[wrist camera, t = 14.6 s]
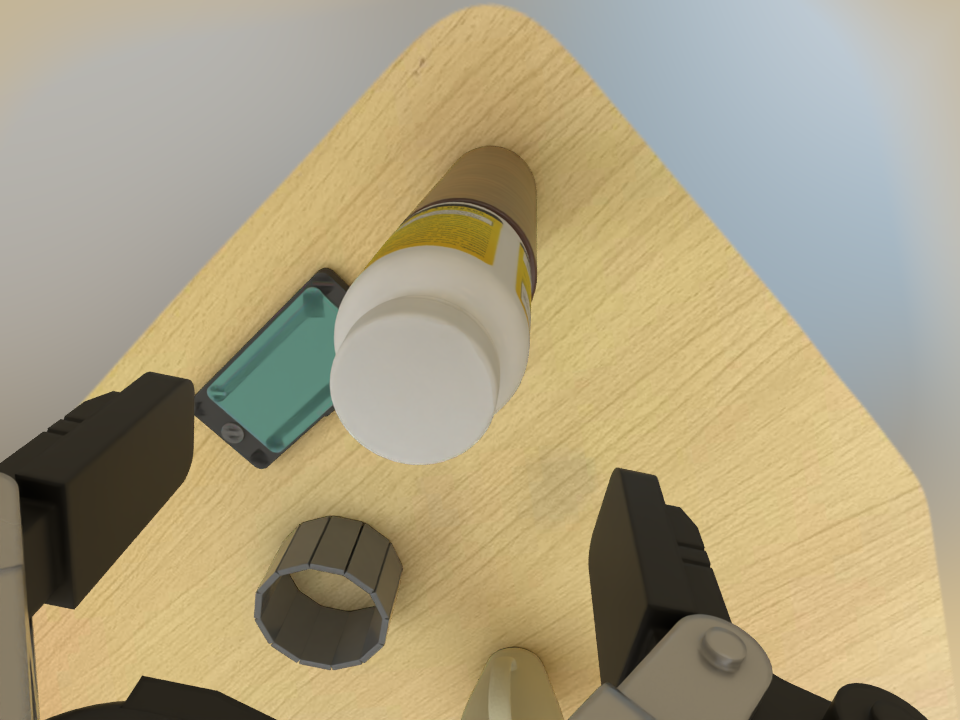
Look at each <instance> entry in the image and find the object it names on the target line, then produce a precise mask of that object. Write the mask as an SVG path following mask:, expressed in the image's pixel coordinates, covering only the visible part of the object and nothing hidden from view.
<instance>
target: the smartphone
mask: <svg viewBox="0 0 960 720" xmlns="http://www.w3.org/2000/svg"><path fill="white" fill-rule="evenodd" d="M348 289H349V286H348V285H347V284H346V283H345V282H344V281H343V280H342V279H341V278H340V277H339V276H338V275H337V274H336V273H335V272H334V271H333V270H330V269H328V268H323V269H321V270H319V271H318V272H317V273H316V274H315V275H314V276H313V277H312V278H311V279H310V280H309V281H308V282H307V283H306V284H305V285H304V286H303V287H302V288H301V289H300V290H299V291H298V292H297V293H296V294H295V295H294V296H293V297H292V298H291V299H290V300H289V301H288V302H287V303H286V304H285V305H284V306H283V307H282V308H281V309H280V310H279V311H278V312H277V313H276V314H275V315H274V316H273V317H272V318H271V319H270V320H269V321H268V322H267V323H266V324H265V325H264V326H263V327H262V328H261V329H260V330H259V331H258V332H257V333H256V334H255V335H254V336H253V337H252V338H251V339H250V340H249V341H248V342H247V343H246V344H245V345H244V346H243V347H242V348H241V350H240V351H239V352H238V353H237V354H236V355H235V356H234V357H233V358H232V359H231V360H230V361H229V362H228V363H227V364H226V365H225V366H224V367H223V368H222V369H221V370H220V371H219V372H218V373H217V374H216V375H215V376H214V377H213V378H212V379H211V380H210V381H209V382H208V383H207V384H206V385H205V386H204V387H203V388H202V389H201V390H200V391H199V392H198V393H197V394H196V395H195V399H194V415H195V416H196V417H197V418H198V419H200V420H201V421H202V422H203V423H204V424H205V425H207V426H208V427H209V428H210V429H211V430H212V431H214V432H215V433H216V434H217V435H218V436H220V437H221V438H222V439H223V440H224V441H225V442H227V443H228V444H229V445H230V446H231V447H232V448H234V449H235V450H236V451H237V452H238V453H240V454H241V455H242V456H243V457H244V458H245V459H247V460H248V461H249V462H250V463H251V464H252V465H254V466H255V467H257V468H259V469H264V468H267V467H268V466H269V465H270V464H271V463H272V462H273V461H275V460H276V459H277V458H278V457H279V456H280V455H281V454H282V453H284V452H285V451H286V450H287V449H288V448H289V447H290V446H291V445H292V444H294V443H295V442H296V441H297V440H298V439H299V438H300V437H301V436H303V435H304V434H305V433H306V432H307V431H308V430H309V429H310V428H311V427H313V426H314V425H315V424H316V423H317V422H318V421H319V420H320V419H322V418H323V417H324V416H328V415H329V414H330V413H332V412H333V411H334V410H335V408H334V405H333V402H332V398H331V392H330V373H331V368H332V364H333V360H334V358H335V355H336V353H335V347H334V329H335V321H336V317H337V313H338V310H339V307H340V304H341V302H342V300H343V298H344V296H345V294H346V293H347V291H348Z"/></svg>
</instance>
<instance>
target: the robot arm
mask: <svg viewBox="0 0 960 720" xmlns="http://www.w3.org/2000/svg"><path fill="white" fill-rule="evenodd" d="M194 399H195V392H194V385H193V383H192V381H191V380H189V379H184V378H179V377H174V376H169V375H164V374H159V373H154V372H147V373H145V374H143V375H142V376H141V377H140V378H138V379H137V380H136V381H134V382H133V383H132V384H131V385H129V386H128V387H127V388H125V389H124V390H123V391H121V392H115V391H112V392H109V393H107V394H104V395H101V396H99V397H96V398H93V399H90V400H88V401H85V402H83V403H82V404H81V405H79V406H78V407H77V408H75V409H74V410H72V411H71V412H70V413H69V414H67V415H66V416H65V417H64V420H62V419H60V420H59V421H58V422H56V423H55V424H53V425H52V426H51V427H49V428H48V431H47V432H42V433H41V434H40V435H38V436H37V437H35V438H34V439H33V440H31V441H30V442H29V443H27V444H26V445H25V446H23V447H22V448H20V449H19V450H18V451H16V452H15V453H14V454H12V455H11V456H9V457H8V458H7V459H5V460H4V461H3V462H1V463H0V720H40V712H39V699H38V685H37V671H36V657H35V643H34V629H33V620H32V616H33V615H34V614H35V613H36V612H37V611H38V610H39V609H40V607H41V606H42V605H43V604H49V605H54V606H59V607H64V608H69V609H75V608H76V607H77V606H78V605H79V603H80V602H81V601H82V600H83V599H84V598H85V596H86V595H87V594H88V593H89V592H90V591H91V589H92V588H93V587H94V586H95V585H96V584H97V582H98V581H99V580H100V579H101V578H102V577H103V576H104V574H105V573H106V572H107V571H108V570H109V569H110V567H111V566H112V565H113V564H114V563H115V562H116V560H117V559H118V558H119V557H120V556H121V555H122V553H123V552H124V551H125V550H126V549H127V548H128V546H129V545H130V544H131V543H132V542H133V541H134V539H135V538H136V537H137V536H138V535H139V534H140V532H141V531H142V530H143V529H144V528H145V527H146V525H147V524H148V523H149V522H150V521H151V520H152V518H153V517H154V516H155V515H156V514H157V513H158V511H159V510H160V509H161V508H162V507H163V506H164V504H165V503H166V502H167V501H168V500H169V499H170V497H171V496H172V495H173V494H174V493H175V492H176V490H177V489H178V488H179V487H180V486H181V484H182V483H183V482H184V480H185V478H186V476H187V474H188V472H189V469H190V466H191V463H192V458H193V450H194ZM704 548H705V547H704V544H703V541H702V539H701V536H700V533H699V530H698V527H697V526H696V525H695V524H694V523H693V522H692V520H691V519H690V518H689V517H688V516H687V515H686V514H685V512H684V511H683V510H682V509H681V508H680V507H676V506H671V505H666V504H665V501H664V498H663V495H662V492H661V488H660V485H659V482H658V479H657V477H656V476H655V475H651V474H646V473H641V472H636V471H632V470H627V469H622V468H615V469H614V471H613V473H612V475H611V478H610V480H609V484H608V487H607V490H606V493H605V496H604V499H603V503H602V506H601V509H600V512H599V515H598V518H597V522H596V525H595V528H594V531H593V534H592V538H591V543H590V550H589V576H590V585H591V594H592V603H593V613H594V622H595V631H596V640H597V649H598V658H599V668H600V677H601V686H600V687H599V688H598V689H597V690H596V691H595V692H594V693H593V694H592V695H591V696H590V697H589V698H588V699H587V700H586V701H585V702H584V703H583V704H582V705H581V706H580V707H579V708H578V709H577V710H576V712H575V713H574V714H573V715H572V716H571V717H570V718H569V719H568V720H927V718H926V717H925V716H923V715H922V714H921V713H920V712H919V711H918V710H917V709H915V708H914V707H913V706H911V705H910V704H909V703H907V702H906V701H904V700H903V699H901V698H899V697H898V696H896V695H894V694H892V693H890V692H888V691H886V690H884V689H881V688H879V687H876V686H872V685H868V684H863V683H852V684H847V685H845V686H843V687H842V688H840V689H839V690H838V692H837V694H836V696H835V697H834V699H833V701H832V702H831V701H828V700H826V699H824V698H822V697H820V696H817V695H815V694H813V693H811V692H809V691H806V690H804V689H802V688H800V687H797V686H795V685H793V684H791V683H789V682H787V681H785V680H783V679H781V678H779V677H778V676H776V675H774V674H773V672H772V666H771V663H770V660H769V658H768V656H767V654H766V653H765V651H764V650H763V649H762V647H761V646H760V645H759V644H758V643H757V642H756V640H755V639H753V638H752V637H751V636H750V635H749V634H748V633H746V632H745V631H744V630H742V629H741V628H739V627H738V626H736V625H734V624H732V622H731V620H730V617H729V614H728V611H727V608H726V606H725V603H724V600H723V597H722V594H721V592H720V589H719V586H718V583H717V580H716V578H715V575H714V572H713V569H712V568H710V561H709V558H708V555H707V553H706V551H704ZM46 720H276V719H274V718H272V717H270V716H268V715H266V714H264V713H262V712H260V711H258V710H256V709H253V708H251V707H249V706H247V705H245V704H243V703H241V702H239V701H237V700H235V699H233V698H231V697H229V696H227V695H225V694H223V693H221V692H219V691H215V690H210V689H205V688H200V687H195V686H190V685H185V684H180V683H176V682H171V681H166V680H161V679H156V678H151V677H146V676H142V677H141V679H140V680H139V682H138V683H137V685H136V686H135V688H134V689H133V691H132V692H131V694H130V695H129V697H128V698H127V700H126V701H119V702H110V703H103V704H96V705H92V706H87V707H83V708H79V709H75V710H72V711H68V712H65V713H62V714H59V715H56V716H53V717H51V718H48V719H46Z"/></svg>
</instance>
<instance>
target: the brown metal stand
mask: <svg viewBox="0 0 960 720" xmlns="http://www.w3.org/2000/svg"><path fill="white" fill-rule="evenodd" d="M447 202H464V203H470V204H474V205H477V206H480V207H483V208H485V209H488V210H490V211H492V212H494V213H495V214H497V215H498V216H499V217H501V218H502V219H504V220H505V221H506V222H507V223H508V224H509V225H510V226H511V227H512V228H513V229H514V230H515V232H516V233H517V234H518V236H519V237H520V239H521V241H522V243H523V245H524V247H525V249H526V252H527V254H528V258H529V262H530V267H531V277H532V287H531V302H532V299H533V296H534V293H535V289H536V283H537V191H536V184H535V179H534V177H533V174H532V172H531V170H530V168H529V167H528V165H527V164H526V163H525V162H524V161H523V159H522V158H520V157H519V156H518V155H517V154H515V153H513V152H512V151H510V150H507V149H505V148H501V147H496V146H485V147H479V148H476V149H473V150H471V151H469V152H467V153H466V154H464V155H463V156H462V157H460V158H459V159H458V160H457V161H456V162H455V164H454V165H453V166H452V167H451V168H450V169H449V170H448V172H447V173H446V174H445V175H444V176H443V177H442V178H441V180H440V181H439V182H438V183H437V184H436V185H435V186H434V187H433V189H432V190H431V191H430V192H429V193H428V194H427V195H426V197H425V198H424V199H423V200H422V201H421V202H420V203H419V204H418V206H417V207H416V208H415V209H414V210H413V211H412V212H411V214H410V215H409V216H408V217H407V218H406V219H405V220H404V221H403V223H404V222H405V221H406V220H407V219H408V218H410V217H411V216H412V215H414V214H415V213H417V212H419V211H420V210H422V209H424V208H427V207H429V206H432V205H436V204H441V203H447ZM403 223H402V224H403ZM402 224H401V225H402ZM399 227H400V226H399Z"/></svg>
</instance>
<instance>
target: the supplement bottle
mask: <svg viewBox="0 0 960 720" xmlns="http://www.w3.org/2000/svg"><path fill="white" fill-rule="evenodd" d="M531 287H532V277H531V267H530V262H529V258H528V254H527V252H526V249H525V247H524V245H523V243H522V241H521V239H520V237H519V236H518V234H517V233H516V232H515V230H514V229H513V228H512V227H511V226H510V225H509V224H508V223H507V222H506V221H505V220H504V219H502V218H501V217H499V216H498V215H497V214H495V213H494V212H492V211H490V210H488V209H485V208H483V207H480V206H477V205H474V204H470V203H464V202H447V203H441V204H436V205H432V206H429V207H427V208H424V209H422V210H420V211H419V212H417V213H415V214H414V215H412V216H411V217H410V218H408V219H407V220H406V221H405V222H404V223H403V224H402V225H400V227H399V228H398V229H397V230H396V231H395V232H394V233H393V234H392V236H391V237H390V238H389V239H388V240H387V241H386V242H385V244H384V245H383V246H382V247H381V249H380V250H379V251H378V252H377V254H376V255H375V256H374V257H373V259H372V260H371V261H370V262H369V264H368V265H367V266H366V267H365V268H364V270H363V271H362V272H361V273H360V274H359V276H358V277H357V278H356V279H355V281H354V282H353V283H352V285H351V286H350V287H349V289H348V291H347V293H346V294H345V296H344V298H343V300H342V302H341V304H340V307H339V310H338V313H337V317H336V321H335V329H334V347H335V353H336V355H335V358H334V360H333V364H332V368H331V373H330V392H331V398H332V402H333V405H334V408H335V411H336V413H337V415H338V417H339V419H340V421H341V422H342V424H343V425H344V427H345V428H346V429H347V431H348V432H349V433H350V434H351V435H352V436H353V437H354V438H355V439H356V440H357V441H358V442H359V443H360V444H361V445H363V446H364V447H365V448H367V449H368V450H370V451H372V452H373V453H375V454H377V455H379V456H381V457H384V458H386V459H389V460H392V461H395V462H399V463H404V464H411V465H428V464H435V463H439V462H443V461H446V460H449V459H452V458H455V457H457V456H459V455H460V454H462V453H464V452H466V451H467V450H468V449H470V448H471V447H472V446H473V445H474V444H475V443H477V442H478V440H479V439H480V438H481V437H482V436H483V435H484V433H485V432H486V431H487V429H488V427H489V425H490V423H491V421H492V419H493V416H494V414H496V413H497V412H498V411H499V410H500V409H501V408H502V407H503V406H504V405H505V404H506V403H507V402H508V401H509V400H510V398H511V397H512V396H513V395H514V393H515V392H516V390H517V388H518V387H519V385H520V383H521V380H522V378H523V376H524V373H525V369H526V366H527V362H528V356H529V348H530V321H531Z"/></svg>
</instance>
